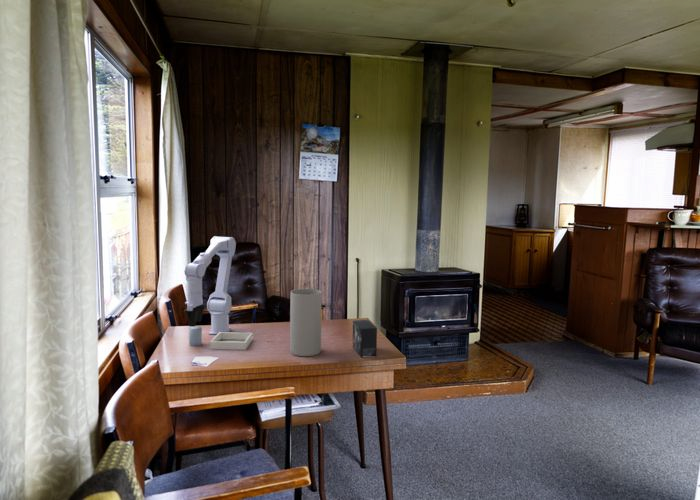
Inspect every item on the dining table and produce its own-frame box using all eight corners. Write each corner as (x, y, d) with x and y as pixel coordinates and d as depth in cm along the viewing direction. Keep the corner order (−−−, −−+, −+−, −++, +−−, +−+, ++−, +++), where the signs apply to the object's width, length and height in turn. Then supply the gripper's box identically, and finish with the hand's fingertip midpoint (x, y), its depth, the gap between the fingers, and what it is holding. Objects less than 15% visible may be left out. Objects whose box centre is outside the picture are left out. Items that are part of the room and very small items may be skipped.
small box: (351, 347, 209) (352, 320, 208) (367, 346, 211) (368, 319, 210) (360, 357, 197) (361, 328, 196) (377, 356, 199) (377, 327, 197)
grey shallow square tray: (219, 338, 218) (219, 332, 218) (252, 339, 218) (252, 332, 218) (209, 348, 203) (209, 341, 203) (245, 349, 203) (245, 342, 203)
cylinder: (191, 342, 212) (191, 326, 211) (203, 342, 212) (203, 326, 211) (187, 346, 207) (187, 329, 206) (199, 346, 207) (199, 329, 206)
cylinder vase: (325, 354, 200) (327, 293, 197) (297, 358, 194) (298, 295, 191) (312, 345, 211) (313, 288, 208) (285, 349, 204) (285, 290, 202)
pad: (225, 341, 214) (225, 340, 214) (242, 341, 214) (242, 341, 214) (221, 346, 207) (221, 345, 207) (238, 346, 207) (238, 346, 207)
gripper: (191, 288, 214) (191, 319, 215) (179, 295, 200) (179, 328, 201) (207, 288, 214) (207, 319, 215) (196, 295, 200) (197, 328, 201)
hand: (195, 323), depth 208 cm, fingers open, 7 cm apart
